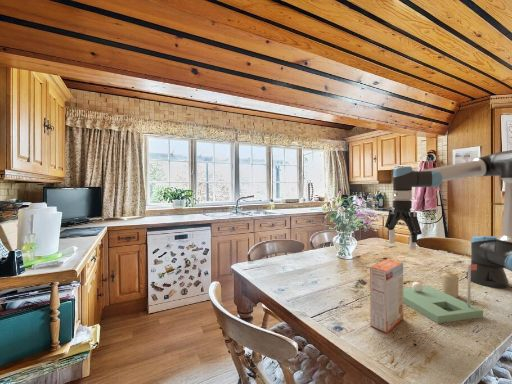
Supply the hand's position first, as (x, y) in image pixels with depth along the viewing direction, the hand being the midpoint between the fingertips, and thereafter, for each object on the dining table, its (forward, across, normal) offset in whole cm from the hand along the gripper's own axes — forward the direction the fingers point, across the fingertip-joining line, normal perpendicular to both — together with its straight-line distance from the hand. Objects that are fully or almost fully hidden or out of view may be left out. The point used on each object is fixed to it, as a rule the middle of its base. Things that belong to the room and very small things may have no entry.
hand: (401, 246), depth 109 cm
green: (+20, +16, 0) cm, 26 cm away
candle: (+20, +10, +16) cm, 28 cm away
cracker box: (+20, +23, -27) cm, 41 cm away
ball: (+16, +9, 0) cm, 18 cm away
